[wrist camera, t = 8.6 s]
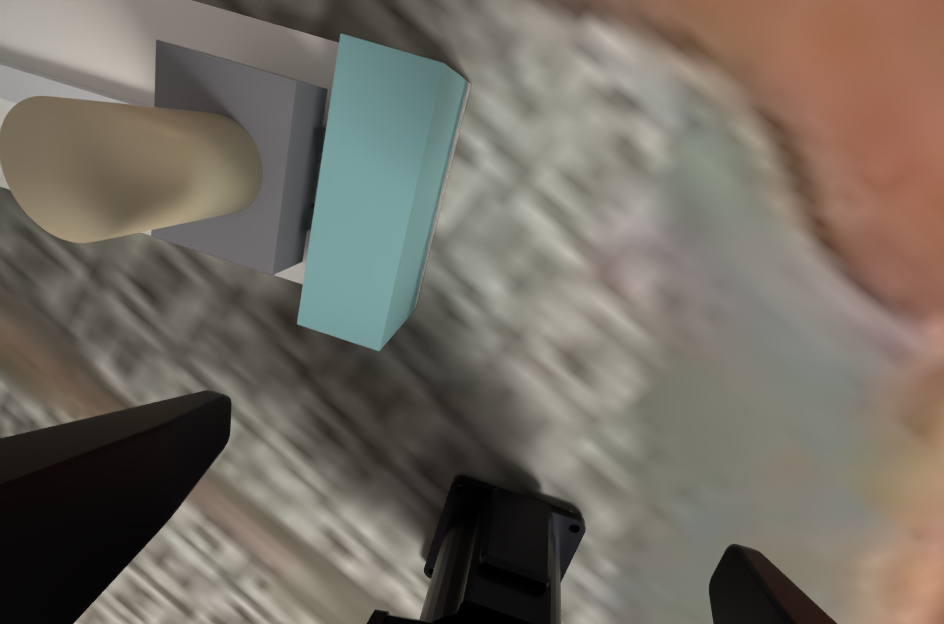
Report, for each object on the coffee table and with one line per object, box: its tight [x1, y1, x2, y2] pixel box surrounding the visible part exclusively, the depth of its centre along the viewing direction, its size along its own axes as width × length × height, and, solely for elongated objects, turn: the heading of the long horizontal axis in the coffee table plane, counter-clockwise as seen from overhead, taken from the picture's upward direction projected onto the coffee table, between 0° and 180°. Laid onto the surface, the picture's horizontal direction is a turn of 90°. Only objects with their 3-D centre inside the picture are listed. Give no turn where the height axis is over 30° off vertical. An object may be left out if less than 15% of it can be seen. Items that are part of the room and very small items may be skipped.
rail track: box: [0, 0, 471, 351], centre depth 17 cm, size 9×23×4 cm, turn 74°
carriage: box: [0, 39, 328, 275], centre depth 14 cm, size 6×4×8 cm
